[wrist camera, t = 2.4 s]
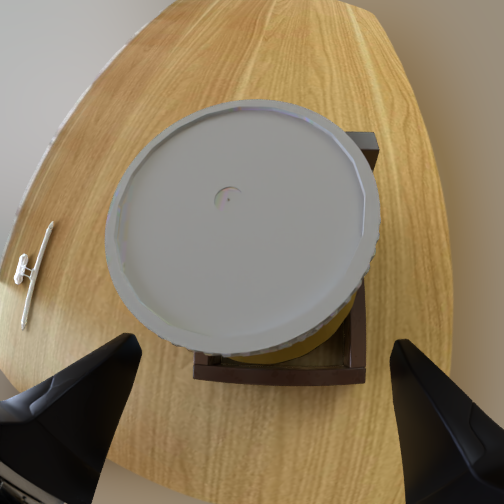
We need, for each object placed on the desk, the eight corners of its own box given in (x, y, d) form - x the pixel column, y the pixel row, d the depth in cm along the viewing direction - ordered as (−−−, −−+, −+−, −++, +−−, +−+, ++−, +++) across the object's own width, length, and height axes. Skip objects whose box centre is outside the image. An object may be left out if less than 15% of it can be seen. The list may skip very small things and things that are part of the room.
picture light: (26, 331, 23) (13, 329, 21) (12, 320, 24) (0, 317, 22) (56, 222, 27) (44, 215, 25) (40, 220, 28) (29, 213, 26)
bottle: (275, 242, 21) (221, 69, 7) (350, 296, 19) (446, 169, 5) (216, 313, 20) (57, 237, 6) (290, 374, 18) (248, 456, 4)
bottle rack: (356, 378, 17) (405, 405, 7) (208, 375, 19) (128, 391, 9) (350, 221, 21) (374, 131, 11) (218, 225, 22) (164, 147, 13)
